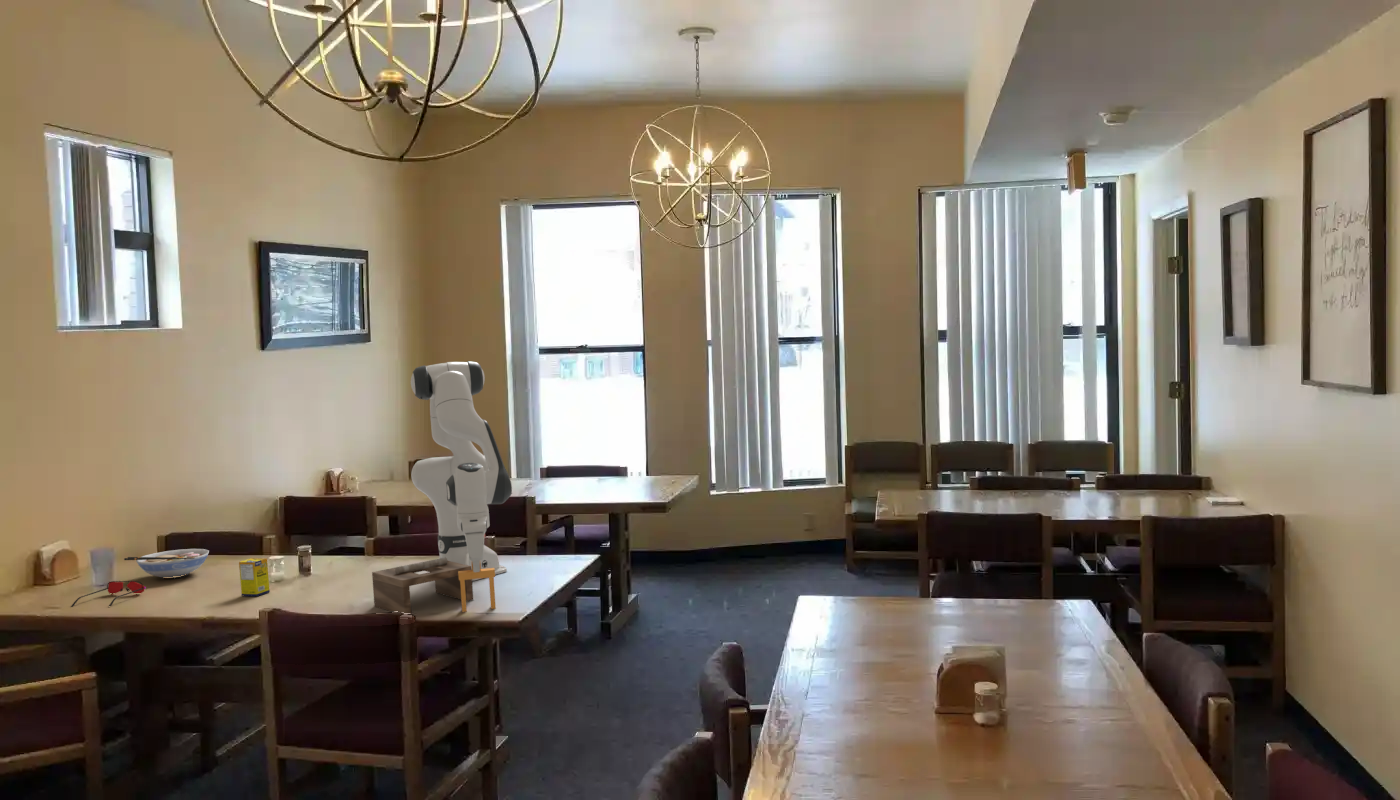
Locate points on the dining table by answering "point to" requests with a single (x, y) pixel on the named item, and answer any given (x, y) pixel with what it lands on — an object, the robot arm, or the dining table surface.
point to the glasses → (119, 589)
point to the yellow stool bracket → (476, 575)
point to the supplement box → (254, 577)
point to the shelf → (396, 581)
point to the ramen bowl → (172, 562)
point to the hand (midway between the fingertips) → (476, 570)
